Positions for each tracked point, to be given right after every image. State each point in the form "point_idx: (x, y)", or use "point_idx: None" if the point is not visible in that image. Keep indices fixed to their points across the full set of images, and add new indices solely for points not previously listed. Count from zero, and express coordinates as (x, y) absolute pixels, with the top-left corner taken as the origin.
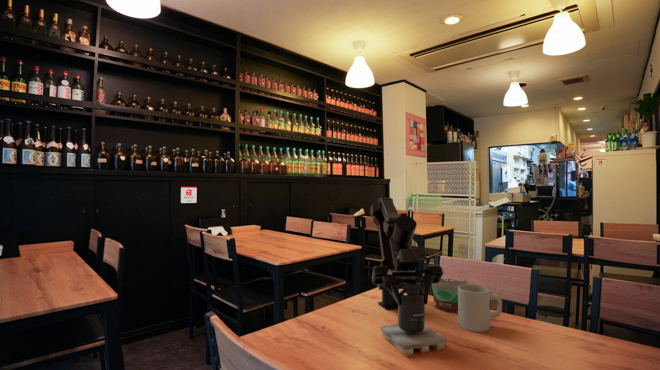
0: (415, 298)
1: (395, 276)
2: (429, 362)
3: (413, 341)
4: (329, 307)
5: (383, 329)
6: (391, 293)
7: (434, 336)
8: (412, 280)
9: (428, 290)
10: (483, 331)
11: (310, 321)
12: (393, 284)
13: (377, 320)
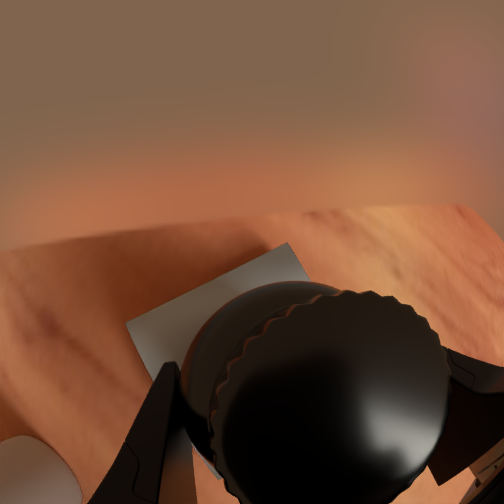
0: (271, 285)
1: (487, 483)
2: (206, 230)
3: (253, 283)
4: (462, 494)
5: None
6: None
7: (165, 337)
8: (331, 498)
9: (127, 436)
10: (22, 435)
11: None
12: (480, 373)
13: None
